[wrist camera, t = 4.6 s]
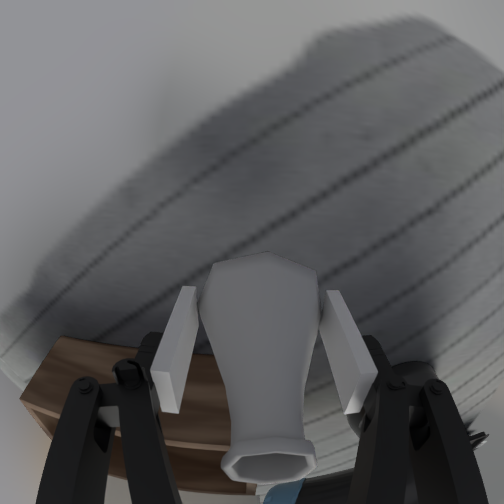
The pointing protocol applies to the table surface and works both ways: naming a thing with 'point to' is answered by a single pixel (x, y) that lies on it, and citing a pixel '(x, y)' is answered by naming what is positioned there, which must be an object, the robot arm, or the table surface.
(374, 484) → the robot arm
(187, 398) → the bin
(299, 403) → the flask
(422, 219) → the table surface
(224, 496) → the lid
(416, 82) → the table surface
